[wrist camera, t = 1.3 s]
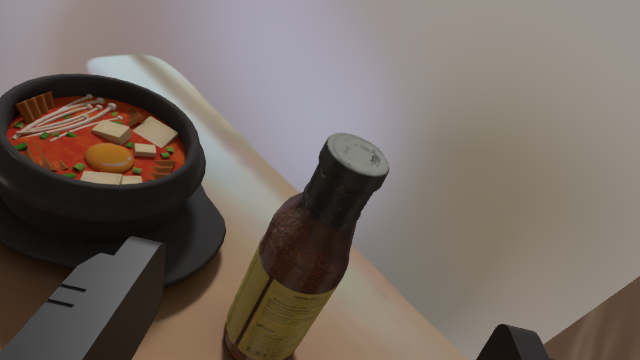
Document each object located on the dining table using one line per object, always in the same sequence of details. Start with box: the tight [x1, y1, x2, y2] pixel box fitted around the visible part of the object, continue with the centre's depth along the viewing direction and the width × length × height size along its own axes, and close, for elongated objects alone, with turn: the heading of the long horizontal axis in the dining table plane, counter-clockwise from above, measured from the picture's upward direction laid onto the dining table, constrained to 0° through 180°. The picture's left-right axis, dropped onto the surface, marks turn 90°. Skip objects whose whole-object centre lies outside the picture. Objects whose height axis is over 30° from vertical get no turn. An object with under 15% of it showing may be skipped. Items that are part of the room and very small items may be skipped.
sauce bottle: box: [224, 133, 389, 360], centre depth 30 cm, size 7×6×20 cm
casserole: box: [0, 74, 226, 288], centre depth 37 cm, size 25×19×8 cm
